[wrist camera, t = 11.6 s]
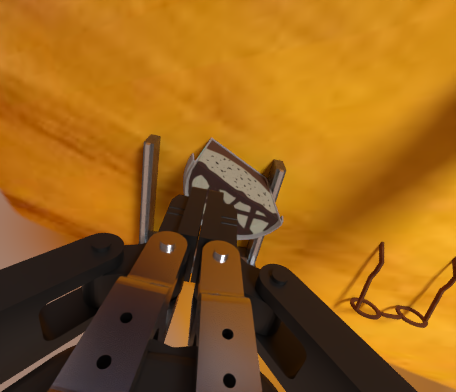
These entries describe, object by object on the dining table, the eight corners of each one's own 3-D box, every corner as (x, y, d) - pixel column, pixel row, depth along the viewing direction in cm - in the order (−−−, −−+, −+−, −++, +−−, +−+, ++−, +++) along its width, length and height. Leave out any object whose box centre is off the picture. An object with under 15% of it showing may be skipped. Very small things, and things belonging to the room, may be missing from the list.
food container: (176, 165, 37) (156, 204, 28) (201, 130, 34) (189, 160, 26) (247, 213, 40) (249, 260, 32) (275, 184, 38) (285, 227, 29)
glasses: (345, 295, 49) (355, 320, 45) (380, 239, 42) (396, 262, 38) (413, 307, 50) (429, 332, 45) (457, 254, 43) (481, 278, 39)
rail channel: (150, 134, 35) (135, 150, 30) (282, 161, 36) (290, 181, 31) (144, 235, 43) (131, 262, 38) (252, 254, 44) (254, 283, 39)
